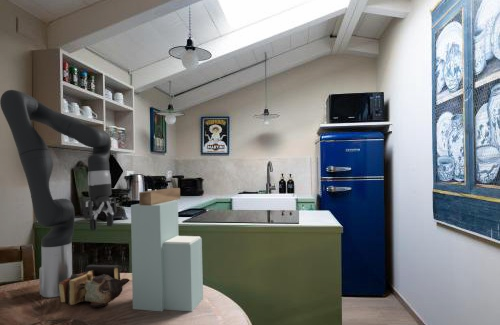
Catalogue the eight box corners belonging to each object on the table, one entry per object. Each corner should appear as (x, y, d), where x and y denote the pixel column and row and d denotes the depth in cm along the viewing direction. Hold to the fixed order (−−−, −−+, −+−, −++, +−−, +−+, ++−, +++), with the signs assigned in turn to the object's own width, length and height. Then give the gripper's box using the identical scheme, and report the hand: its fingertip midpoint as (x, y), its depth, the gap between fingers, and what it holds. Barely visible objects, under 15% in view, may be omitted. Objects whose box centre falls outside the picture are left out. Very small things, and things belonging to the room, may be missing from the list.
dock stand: (132, 308, 96) (130, 205, 97) (153, 293, 108) (151, 201, 109) (189, 313, 92) (187, 205, 93) (204, 297, 104) (202, 201, 104)
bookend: (89, 264, 115) (144, 262, 106) (91, 294, 114) (147, 295, 105) (51, 276, 101) (111, 275, 92) (53, 310, 100) (113, 313, 91)
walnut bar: (139, 205, 96) (139, 192, 96) (170, 198, 116) (170, 188, 116) (151, 205, 95) (150, 192, 95) (180, 198, 115) (179, 187, 115)
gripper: (104, 183, 121) (106, 224, 121) (75, 185, 107) (78, 232, 107) (121, 181, 120) (123, 224, 119) (94, 183, 106) (97, 231, 105)
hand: (102, 228), depth 113 cm, fingers open, 8 cm apart
